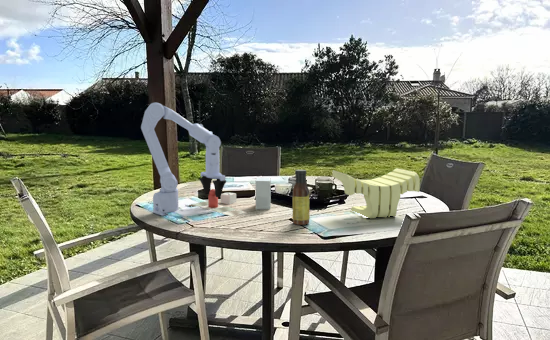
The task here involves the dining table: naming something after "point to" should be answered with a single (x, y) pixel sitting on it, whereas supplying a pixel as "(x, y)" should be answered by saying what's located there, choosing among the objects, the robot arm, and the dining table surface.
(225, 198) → the die
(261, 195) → the small box
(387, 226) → the dining table surface
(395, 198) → the slatted curved stool
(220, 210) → the board
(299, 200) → the sauce bottle
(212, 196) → the pawn
